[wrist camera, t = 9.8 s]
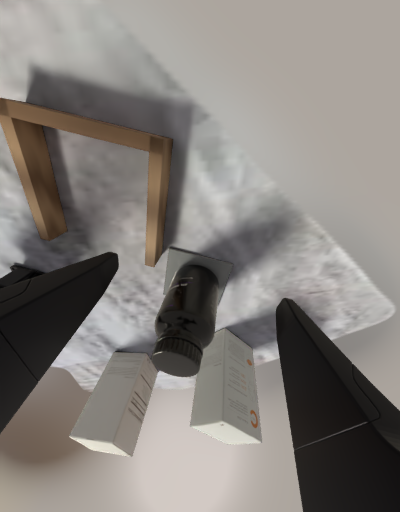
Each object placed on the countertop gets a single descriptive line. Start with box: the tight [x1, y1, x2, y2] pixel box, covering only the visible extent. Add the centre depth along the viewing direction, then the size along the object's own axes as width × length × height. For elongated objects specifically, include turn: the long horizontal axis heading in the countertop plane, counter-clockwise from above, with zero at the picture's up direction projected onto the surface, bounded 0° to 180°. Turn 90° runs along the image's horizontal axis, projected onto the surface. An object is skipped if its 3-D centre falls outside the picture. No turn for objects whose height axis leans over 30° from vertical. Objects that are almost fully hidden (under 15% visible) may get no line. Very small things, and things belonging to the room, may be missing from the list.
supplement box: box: [69, 352, 158, 457], centre depth 38 cm, size 9×9×15 cm
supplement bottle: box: [151, 265, 219, 377], centre depth 22 cm, size 7×7×12 cm
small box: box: [190, 328, 262, 444], centre depth 29 cm, size 8×6×13 cm
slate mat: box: [163, 248, 233, 306], centre depth 27 cm, size 9×9×1 cm
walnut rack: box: [0, 98, 173, 267], centre depth 20 cm, size 14×15×3 cm
